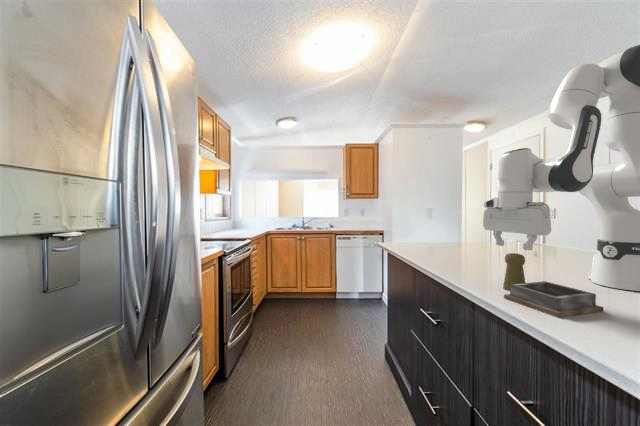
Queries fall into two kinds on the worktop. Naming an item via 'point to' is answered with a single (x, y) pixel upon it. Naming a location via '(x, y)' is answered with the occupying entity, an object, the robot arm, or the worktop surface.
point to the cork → (514, 270)
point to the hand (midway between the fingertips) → (513, 247)
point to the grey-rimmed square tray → (553, 298)
